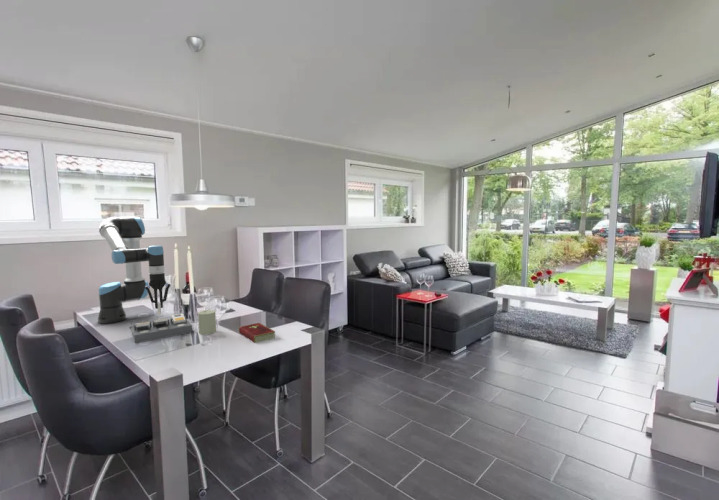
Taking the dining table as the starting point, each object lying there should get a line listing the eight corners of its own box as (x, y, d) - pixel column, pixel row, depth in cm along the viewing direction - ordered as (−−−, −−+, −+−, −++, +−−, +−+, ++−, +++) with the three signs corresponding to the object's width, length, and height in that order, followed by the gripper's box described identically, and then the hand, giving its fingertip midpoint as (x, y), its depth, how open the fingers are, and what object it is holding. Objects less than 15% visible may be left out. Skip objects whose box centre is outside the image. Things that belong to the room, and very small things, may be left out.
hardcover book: (254, 343, 191) (254, 335, 190) (239, 333, 207) (238, 326, 207) (275, 338, 198) (275, 331, 198) (259, 329, 215) (259, 322, 214)
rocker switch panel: (131, 334, 205) (130, 322, 205) (186, 325, 222) (185, 314, 221) (134, 342, 193) (133, 330, 192) (192, 332, 209) (191, 320, 208)
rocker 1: (135, 326, 205) (135, 323, 205) (148, 324, 208) (147, 321, 208) (137, 326, 198) (136, 323, 198) (149, 324, 202) (149, 321, 202)
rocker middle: (154, 324, 210) (153, 321, 210) (166, 322, 213) (165, 319, 214) (155, 322, 204) (155, 319, 204) (168, 320, 207) (167, 317, 207)
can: (212, 328, 216) (211, 308, 214) (219, 331, 209) (218, 311, 208) (196, 332, 209) (195, 311, 208) (202, 335, 203) (201, 314, 201)
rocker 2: (171, 317, 215) (171, 315, 215) (182, 315, 219) (182, 313, 218) (174, 323, 209) (174, 321, 209) (185, 321, 213) (185, 319, 212)
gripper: (144, 275, 201) (147, 317, 204) (171, 272, 209) (173, 313, 212) (142, 273, 207) (145, 314, 210) (168, 270, 215) (170, 310, 218)
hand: (159, 313), depth 211 cm, fingers closed
